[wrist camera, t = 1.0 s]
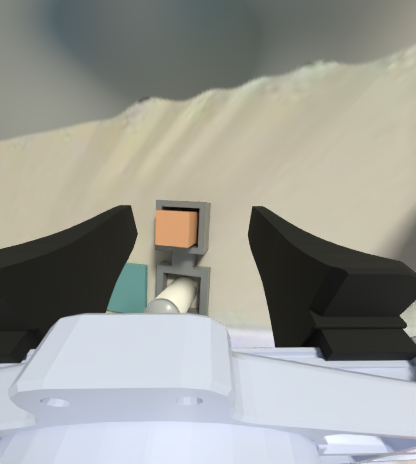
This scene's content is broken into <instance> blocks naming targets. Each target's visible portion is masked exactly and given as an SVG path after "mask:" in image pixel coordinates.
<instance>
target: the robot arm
mask: <svg viewBox="0 0 416 464" xmlns="http://www.w3.org/2000/svg"><path fill="white" fill-rule="evenodd" d="M137 235H138V233H137V229H136V225H135V221H134V217H133V212H132V208H131V205H120V206H117V207H114V208H112V209H110V210H107V211H105V212H103V213H101V214H99V215H97V216H95V217H93V218H91V219H89V220H87V221H84V222H82V223H80V224H78V225H76V226H73V227H71V228H69V229H66V230H63V231H61V232H58V233H55V234H52V235H49V236H46V237H43V238H40V239H36V240H33V241H30V242H26V243H23V244H19V245H15V246H11V247H7V248H3V249H0V464H362V463H368V462H386V461H406V460H416V336H414V337H411V338H410V337H409V336H408V335H407V333H406V332H405V331H404V330H403V329H405V328H406V327H407V324H406V323H405V321H404V320H403V319H402V318H401V317H400V315H401V314H402V313H403V312H404V311H405V310H406V309H407V308H408V307H409V306H410V305H411V304H412V303H413V302H414V301H415V300H416V273H415V272H414V271H413V270H412V269H410V268H409V267H408V266H407V265H405V264H404V263H402V262H400V261H396V260H392V259H388V258H383V257H379V256H375V255H370V254H367V253H363V252H359V251H356V250H353V249H349V248H346V247H343V246H340V245H337V244H334V243H332V242H329V241H326V240H324V239H321V238H319V237H316V236H314V235H312V234H310V233H308V232H306V231H304V230H302V229H300V228H298V227H296V226H294V225H293V224H291V223H289V222H287V221H286V220H284V219H283V218H281V217H279V216H278V215H276V214H275V213H273V212H272V211H270V210H269V209H267V208H265V207H263V206H252V212H251V218H250V224H249V231H248V238H249V244H250V248H251V251H252V254H253V257H254V260H255V262H256V265H257V268H258V271H259V274H260V276H261V280H262V283H263V287H264V291H265V296H266V300H267V305H268V310H269V314H270V320H271V325H272V331H273V336H274V342H275V348H231V341H230V336H229V334H228V331H227V328H226V327H225V326H224V325H223V324H221V323H219V322H217V321H216V320H214V319H212V318H211V317H209V316H205V315H198V314H191V313H106V310H107V307H108V304H109V301H110V298H111V296H112V293H113V290H114V287H115V285H116V282H117V280H118V278H119V276H120V274H121V272H122V270H123V268H124V266H125V264H126V262H127V260H128V258H129V256H130V254H131V252H132V250H133V248H134V245H135V242H136V238H137Z"/></svg>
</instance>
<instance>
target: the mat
mask: <svg viewBox="0 0 416 464" xmlns="http://www.w3.org/2000/svg"><path fill="white" fill-rule="evenodd" d="M146 307H147V265H141V264H133V263H126V264H125V266H124V268H123V270H122V272H121V274H120V276H119V278H118V280H117V282H116V285H115V287H114V290H113V293H112V296H111V298H110V301H109V304H108V307H107V310H110V311H115V312H121V313H144V310H145V308H146Z"/></svg>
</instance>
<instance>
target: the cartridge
mask: <svg viewBox="0 0 416 464" xmlns="http://www.w3.org/2000/svg"><path fill="white" fill-rule="evenodd" d="M196 295H197V286H196V283H195V282H194V281H193V280H192V279H191V278H189V277H186V276H180V277H178V278H176V279H175V280H174V281H173V282H172V283H171V284H170V285H169V286H168V287H167V288H166V289H165V290H163V291H162V292H161V293H160V294H159V295H158V296H157V297H156V298H155V299H154V300H153V301H152V302H151V303H150V304H149V305H148V306H147V307H146V308H145V310H144V313H186V312H187V311H188V309H189V307H190V306H191V304H192V302H193V300H194V299H195V297H196Z"/></svg>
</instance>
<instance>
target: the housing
mask: <svg viewBox="0 0 416 464" xmlns="http://www.w3.org/2000/svg"><path fill="white" fill-rule="evenodd" d="M210 204H211V203H207V202H190V201H168V200H156V210H171V207H184V208H200V212H199V233H198V244H193V245H192V246H190V247H189V248H185V247H175V246H164V245H155V250H161V251H171V252H172V263H166V262H160V263H159V264H157V271H156V297H157V296H158V295H159V294H160V293H161V292H162V291H163V290H165V289H166V288H167V273H172V274H180V275H188V276H196V277H201V285H200V305H199V309H194V308H189V309H188V311H187V312H186V313H191V314H198V315H205V316H208V304H209V286H210V267H201V266H195V260H196V254H201V255H204V254H205V253H206V252H207V251H208V241H209V223H210Z"/></svg>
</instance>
